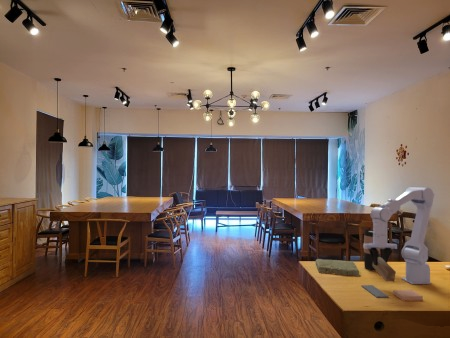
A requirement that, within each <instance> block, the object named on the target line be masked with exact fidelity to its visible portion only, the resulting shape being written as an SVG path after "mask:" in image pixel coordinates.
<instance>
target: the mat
mask: <svg viewBox="0 0 450 338" xmlns="http://www.w3.org/2000/svg"><path fill="white" fill-rule="evenodd" d="M361 287H362V288H363V289H364V290H365V291H367V292H368V293H370V294H371V295H372V296H374V297H375V298H377V299H379V298H385V299H386V298H389V295H387V294H386V293H384V292H383V291H382V290H380V289H378V288H377V287H376V286H374V285H373V284H371V285H370V284H365V285H364V284H362V285H361Z"/></svg>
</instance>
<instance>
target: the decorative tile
mask: <svg viewBox="0 0 450 338" xmlns="http://www.w3.org/2000/svg"><path fill="white" fill-rule="evenodd" d="M315 267H316V269H317V272H318V273H319V274H331V273H335V274H334V275H339V276H357V277H360V271H359V268H358V267H357V264H356V263H355V262H354V261H352V260H339V259H338V260H337V259H323V258H317V259H315Z"/></svg>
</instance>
